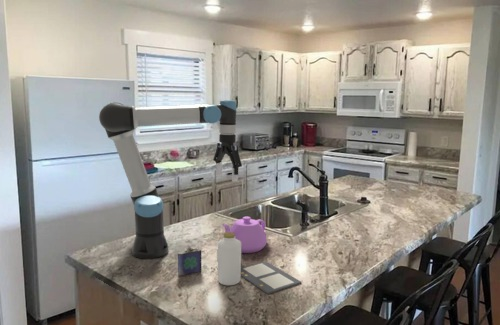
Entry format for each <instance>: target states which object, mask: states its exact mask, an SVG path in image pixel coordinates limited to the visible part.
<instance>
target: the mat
mask: <svg viewBox="0 0 500 325" xmlns="http://www.w3.org/2000/svg"><path fill="white" fill-rule="evenodd" d="M241 278H243V279H245V280H246V281H248V283H250V284H252V285H254V286H255V287H257V288H258V289H259V290H260V291H263V292H264V293H265V294H267V295H271V294H273V293H276V292H279V291H283V290H286V289H288V288H291V287H294V286H298V285H301V284H302V281H301V280H299V279H297V278H295V277H294V276H292V275H290V274H288V273H287V272H285V271H283V270H282V269H280V268H278V267H277V266H275V265H273V264H271V263H270V262H268V261H266V260H265V261H264V260H263V261H261V262H258V263H254V264H249V265H246V266H243V267H242V266H241Z"/></svg>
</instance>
